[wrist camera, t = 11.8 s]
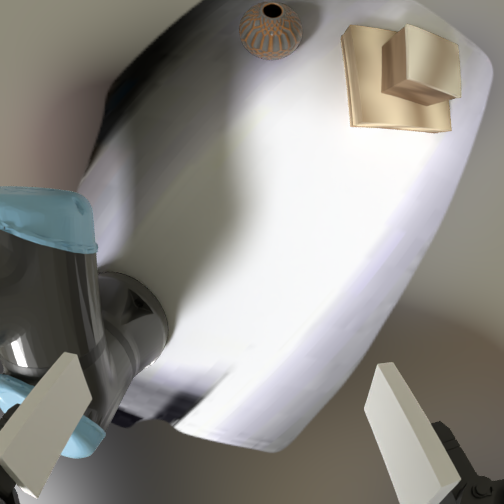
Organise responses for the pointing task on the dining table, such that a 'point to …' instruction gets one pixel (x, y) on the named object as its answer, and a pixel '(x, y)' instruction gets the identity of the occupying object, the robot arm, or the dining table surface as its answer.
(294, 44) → the vase
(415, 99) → the pale wooden block
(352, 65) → the beech base
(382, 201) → the dining table surface
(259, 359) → the dining table surface
